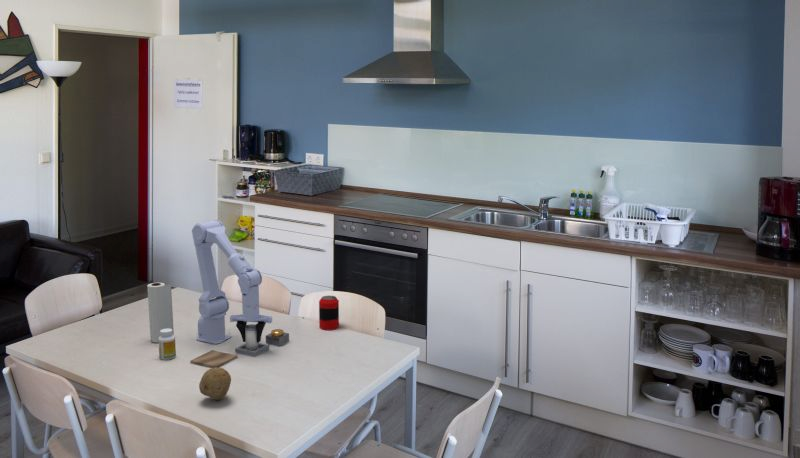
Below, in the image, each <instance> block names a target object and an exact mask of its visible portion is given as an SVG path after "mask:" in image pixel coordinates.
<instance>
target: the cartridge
mask: <svg viewBox="0 0 800 458" xmlns="http://www.w3.org/2000/svg"><path fill="white" fill-rule="evenodd" d="M245 343H246V350H251V351H255V350H257V349H259V348H258V343H257V331H256V324H254V323H253V324H247V325H246V326H245V342H244V344H245Z"/></svg>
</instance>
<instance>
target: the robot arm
mask: <svg viewBox="0 0 800 458" xmlns="http://www.w3.org/2000/svg"><path fill="white" fill-rule="evenodd" d="M226 229H227V228H226V227H225V226H224V224H223V221H221V220H219V219H215V220H211V221H205V222H201V223H199V222H197V223H196V224H195V225H194V226H193V227H192V230H191V234H192V238H193V245H194V248H195V252H196V253H195V254H196V258H197V262H198V267H199V268H198V269H199V272H200V279H201V284H202V289H203V292H202V294H201V295H200V296H199V298H198V312H199V314H200V317H199V318H198V321H197V336H198V337H197V338H196V340H197V341H200V342H204V343H205V342H206V343H209V344H214V345H218V344H221V343H222V342H223V341H227V340H228V339H231V335H226V320H225V319H226V315H227V312H228V311H229V310H230V302H229V300H228V298H227V296H226V292H224V291H223V290H221V289H220V287H219V282H218V277H217V272H216V267H215V262H214V257H213V251H212V246H213V245H214V244H216V246H217V247H218V248H219V250H221V252H222V253H223V254H224V255H225V256H226V257H227V258H228V262H227V263H228V265H229V267H230V268H231V269H232V271H233V272H234V274H235V275H236V277H237V278H238V279H237V284H238V286H239V289H240V293H241V299H242V300H241V302H242V304H241V306H242V314H232V315H230V317H229V322H230V323H234V322H236V325H235V326H236V328H237V330H238V331H239V333H240V336H241V339H242V342H243V343H245V326H246V325H248V323H256V324H255V325H256V331H257V343H261V340H262V335H263V331H264V329H265V326H266V324H272V323H273V316H271V315H263V314H260V293H259V291H260V290H259V288H260V287H259V286H260V285H261V284H262V283H263V277H262V274H261V272H260V270H258V269H257V268H254V267H253V266H251V264H250V263H249V261H248V260H247V259H246V258H245V255H243V254H242V253H239V252H237V251H236V249H235V247H234V245H233V244H232V242H231V241H230V239H229V237H228V236H227V234H226V233H227V230H226Z"/></svg>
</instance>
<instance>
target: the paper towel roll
mask: <svg viewBox="0 0 800 458" xmlns="http://www.w3.org/2000/svg"><path fill="white" fill-rule="evenodd" d="M146 286H147V301H148V315H149V316H148V317H149V318H148V319H149V321H148V322H149V335H150V336H149V337H150V342H151V343H157V344H159V342H158V339H159V337H160V336H161V335H160V330H162V329H172V332H173V333H172V335H174V336H175V331H174V313H173V312H174V311H173V296H172V295H173V294H172V284H171V283H170V284H169V283H168V284H166V283H163V282H152V283H149V284H147V285H146Z"/></svg>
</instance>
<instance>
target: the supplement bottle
mask: <svg viewBox="0 0 800 458" xmlns="http://www.w3.org/2000/svg"><path fill="white" fill-rule="evenodd" d="M172 333H173V332H172V329H162V330H160V335H161V336H160V337H159V339H158V342H159V343H158V355H159V359H160V360H165V361H166V360H173V359H174V358H176V356H177V353H176V352H177V351H176V337H175V334H174V335H172Z"/></svg>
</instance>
